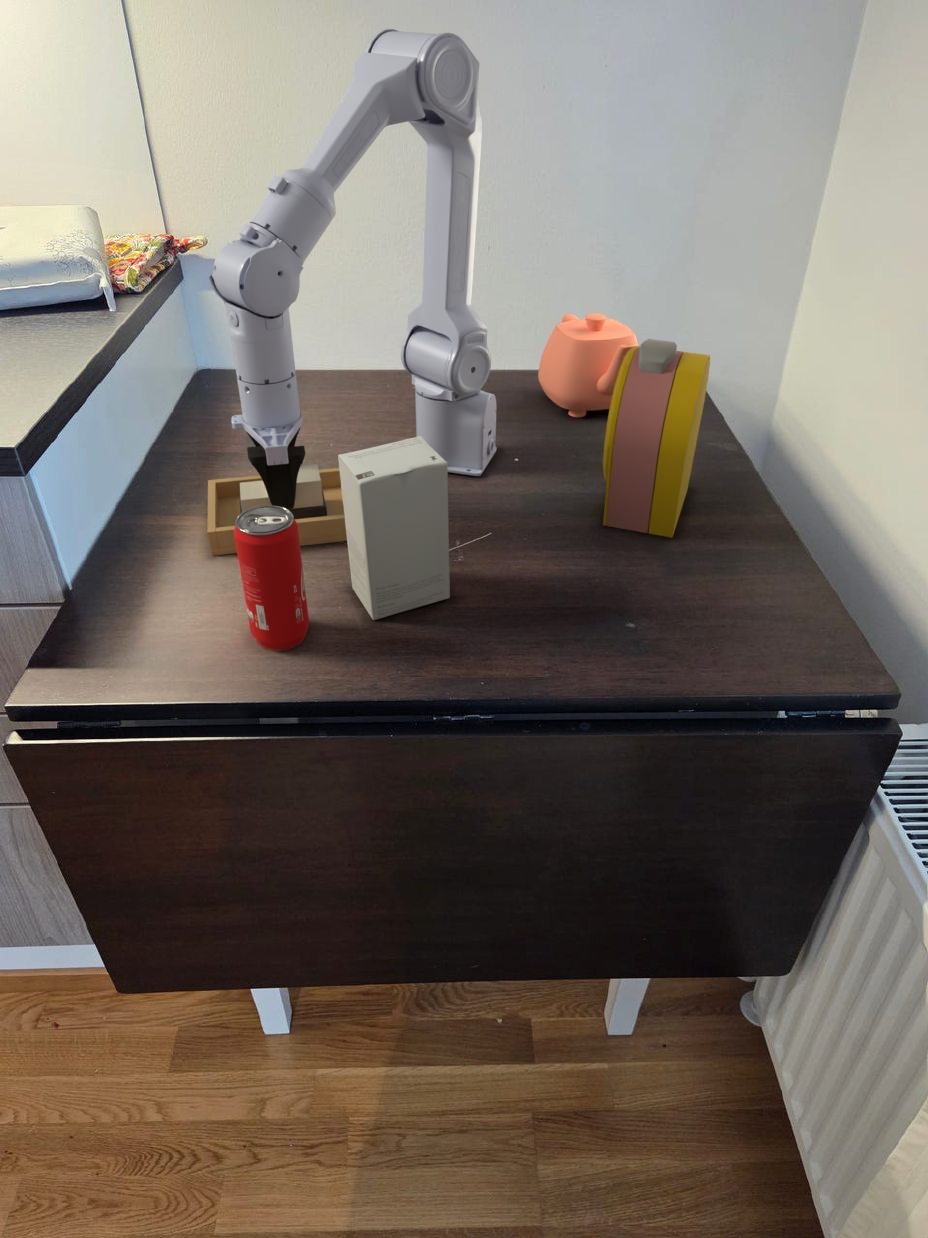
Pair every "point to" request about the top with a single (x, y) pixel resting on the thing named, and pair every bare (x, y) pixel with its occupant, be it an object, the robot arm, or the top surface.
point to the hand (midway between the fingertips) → (282, 497)
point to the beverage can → (272, 576)
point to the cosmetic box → (396, 525)
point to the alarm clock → (652, 436)
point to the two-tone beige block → (306, 498)
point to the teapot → (584, 362)
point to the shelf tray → (310, 529)
